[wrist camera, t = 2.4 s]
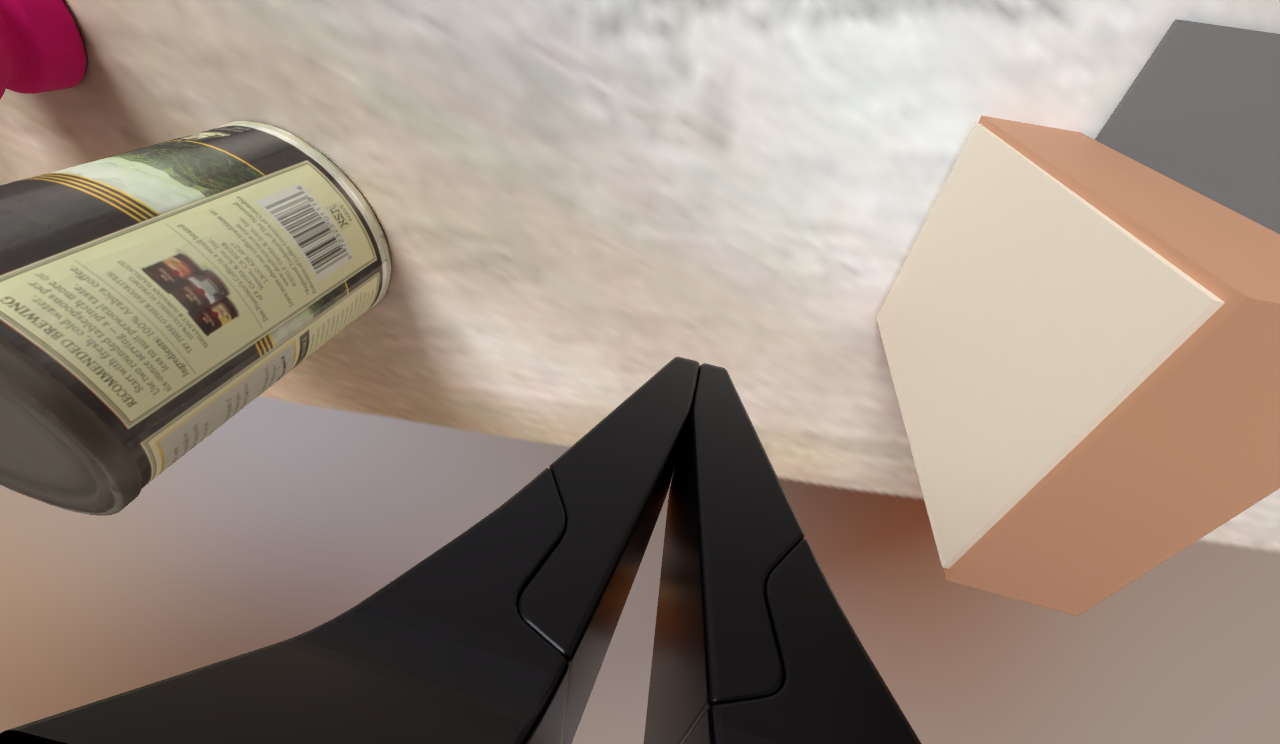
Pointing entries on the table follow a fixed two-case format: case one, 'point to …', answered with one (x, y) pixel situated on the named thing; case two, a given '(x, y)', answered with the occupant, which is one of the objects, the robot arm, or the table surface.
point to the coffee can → (167, 301)
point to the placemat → (1208, 116)
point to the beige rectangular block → (1081, 365)
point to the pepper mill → (39, 47)
